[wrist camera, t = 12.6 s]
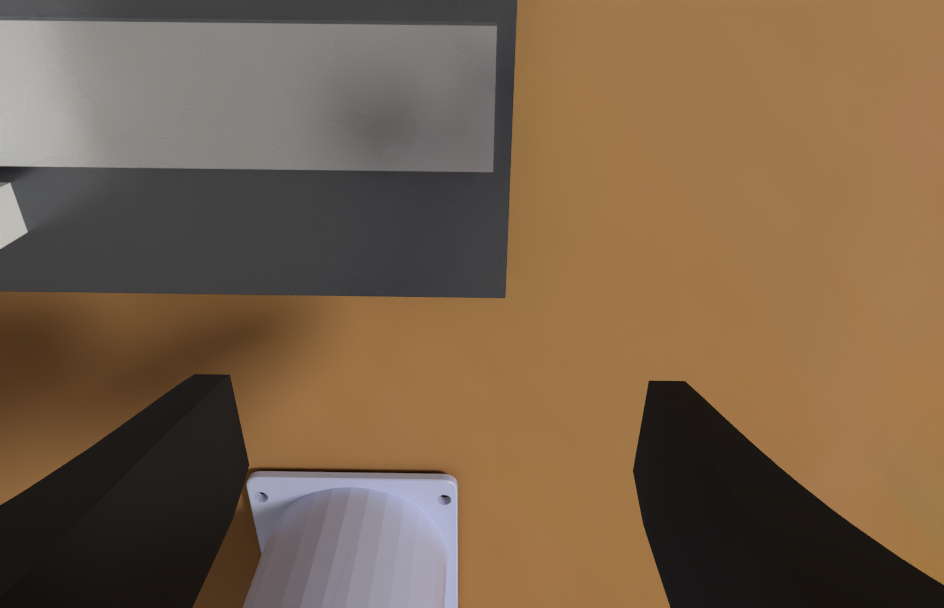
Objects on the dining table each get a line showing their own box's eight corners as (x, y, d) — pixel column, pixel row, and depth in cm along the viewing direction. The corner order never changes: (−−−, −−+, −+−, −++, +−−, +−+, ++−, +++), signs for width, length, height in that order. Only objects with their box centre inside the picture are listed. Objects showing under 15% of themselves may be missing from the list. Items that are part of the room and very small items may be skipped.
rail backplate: (504, 283, 20) (514, 419, 14) (-178, 274, 20) (-451, 405, 14) (521, -185, 14) (551, -284, 8) (-433, -194, 15) (-1066, -298, 9)
